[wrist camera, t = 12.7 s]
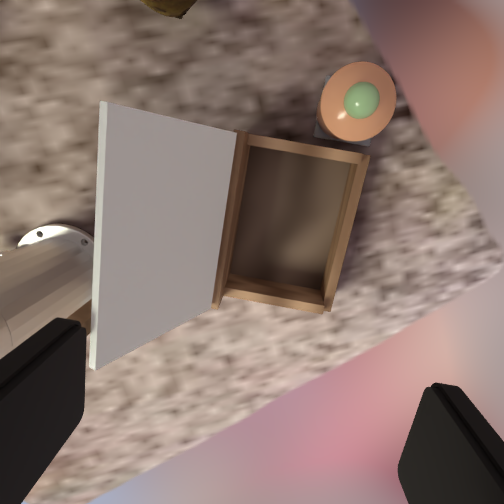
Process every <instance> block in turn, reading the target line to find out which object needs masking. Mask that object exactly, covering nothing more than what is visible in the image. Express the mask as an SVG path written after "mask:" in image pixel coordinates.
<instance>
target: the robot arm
mask: <svg viewBox="0 0 504 504" xmlns="http://www.w3.org/2000/svg"><path fill="white" fill-rule="evenodd" d="M87 241H88V242H87ZM93 259H94V237H92V236H91V235H90V234H88V233H87V232H85V231H83V230H81V229H79V228H77V227H74V226H70V225H67V224H48V225H45V226H41V227H38V228H36V229H34V230H32V231H30V232H29V233H27V234H26V235H25V236H24V237H23V238H22V239H21V241H20V242H19V243H18V245H17V247H16V249H15V250H13V251H2V252H0V504H21V503H22V502H23V500H24V499H25V497H26V496H27V495H28V493H29V492H30V490H31V489H32V488H33V486H34V485H35V483H36V482H37V481H38V479H39V478H40V477H41V475H42V474H43V472H44V471H45V470H46V468H47V467H48V465H49V464H50V463H51V461H52V460H53V459H54V457H55V456H56V454H57V453H58V452H59V450H60V449H61V447H62V446H63V445H64V443H65V442H66V440H67V439H68V438H69V436H70V435H71V434H72V432H73V431H74V429H75V428H76V427H77V425H78V424H79V422H80V420H81V418H82V416H83V412H84V401H85V368H86V334H87V333H86V328H85V327H81V323H80V322H79V321H77V320H72V319H66V318H67V317H69V316H70V315H71V314H73V313H74V312H75V311H76V310H78V309H79V308H80V307H82V306H83V305H84V304H85V303H87V302H88V301H89V300H91V299H92V284H93ZM398 476H399V480H400V483H401V485H402V488H403V491H404V493H405V496H406V498H407V501H408V503H409V504H504V442H503V440H502V439H501V438H500V436H499V435H498V434H497V433H496V432H495V430H494V429H493V428H492V427H491V425H490V424H489V423H488V422H487V420H486V419H485V418H484V417H483V415H482V414H481V413H480V412H479V410H478V409H477V408H476V407H475V405H474V404H473V403H472V402H471V401H470V399H469V398H468V397H467V396H466V394H465V393H464V392H463V391H462V389H460V388H459V387H458V386H453V385H447V384H442V383H434V384H432V385H431V387H427V388H426V389H425V390H424V392H423V395H422V398H421V401H420V404H419V407H418V409H417V412H416V415H415V418H414V421H413V424H412V427H411V429H410V432H409V435H408V438H407V441H406V443H405V446H404V450H403V452H402V455H401V458H400V461H399V464H398Z"/></svg>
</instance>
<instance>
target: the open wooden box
mask: <svg viewBox="0 0 504 504" xmlns="http://www.w3.org/2000/svg"><path fill="white" fill-rule="evenodd" d="M234 132H235V133H237V136H236V143H235V150H234V156H233V163H232V170H231V177H230V183H229V190H228V197H227V203H226V210H225V217H224V224H223V230H222V237H221V244H220V251H219V257H218V264H217V271H216V277H215V284H214V291H213V298H212V304H211V308H212V309H217V310H218V308H219V305H220V302H221V300H222V297H223V296H228V297H233V298H238V299H244V300H249V301H254V302H260V303H265V304H270V305H276V306H281V307H286V308H292V309H297V310H303V311H308V312H313V313H319V314H323V311H328V312H330V311H331V307H332V303H333V300H334V296H335V292H336V288H337V284H338V280H339V276H340V272H341V269H342V265H343V261H344V257H345V253H346V249H347V245H348V241H349V237H350V234H351V230H352V226H353V222H354V218H355V214H356V210H357V206H358V203H359V199H360V195H361V191H362V187H363V183H364V179H365V175H366V172H367V168H368V164H369V160H370V155H365V154H361V153H356V152H350V151H344V150H339V149H333V148H327V147H321V146H316V145H310V144H304V143H299V142H293V141H287V140H282V139H276V138H270V137H265V136H259V135H253V134H248V133H247V132H245V131H240V130H234ZM91 309H92V299H91V300H89V301H88V302H87V303H85V304H84V305H83V306H82V307H80V308H79V309H78V310H76V311H75V312H74V313H73V314H71V315H70V316H69V317H67V318H66V319H72V320H77V321H79V322H80V323H81V327H85V328H86V333H87V334H86V336H87V335H88V334H89V333H90V332H91Z"/></svg>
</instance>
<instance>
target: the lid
mask: <svg viewBox="0 0 504 504" xmlns="http://www.w3.org/2000/svg"><path fill="white" fill-rule="evenodd" d="M236 136H237V133H235V132H231V131H227V130H223V129H219V128H214V127H210V126H206V125H202V124H198V123H194V122H189V121H185V120H181V119H177V118H173V117H169V116H164V115H160V114H156V113H152V112H148V111H143V110H139V109H135V108H131V107H127V106H123V105H118V104H114V103H110V102H105V101H100V110H99V135H98V160H97V185H96V210H95V234H94V259H93V284H92V309H91V334H90V359H89V367H90V368H92V369H93V370H95V371H96V370H97V369H99V368H101V367H103V366H105V365H107V364H109V363H110V362H112V361H114V360H116V359H118V358H120V357H122V356H123V355H125V354H127V353H129V352H131V351H133V350H135V349H137V348H138V347H140V346H142V345H144V344H146V343H148V342H150V341H151V340H153V339H155V338H157V337H159V336H161V335H163V334H164V333H166V332H168V331H170V330H172V329H174V328H176V327H178V326H179V325H181V324H183V323H185V322H187V321H189V320H191V319H192V318H194V317H196V316H198V315H200V314H202V313H204V312H205V311H207V310H209V309H211V304H212V298H213V291H214V284H215V277H216V271H217V264H218V257H219V251H220V244H221V237H222V230H223V224H224V217H225V210H226V203H227V197H228V190H229V183H230V177H231V170H232V163H233V156H234V150H235V143H236Z"/></svg>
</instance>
